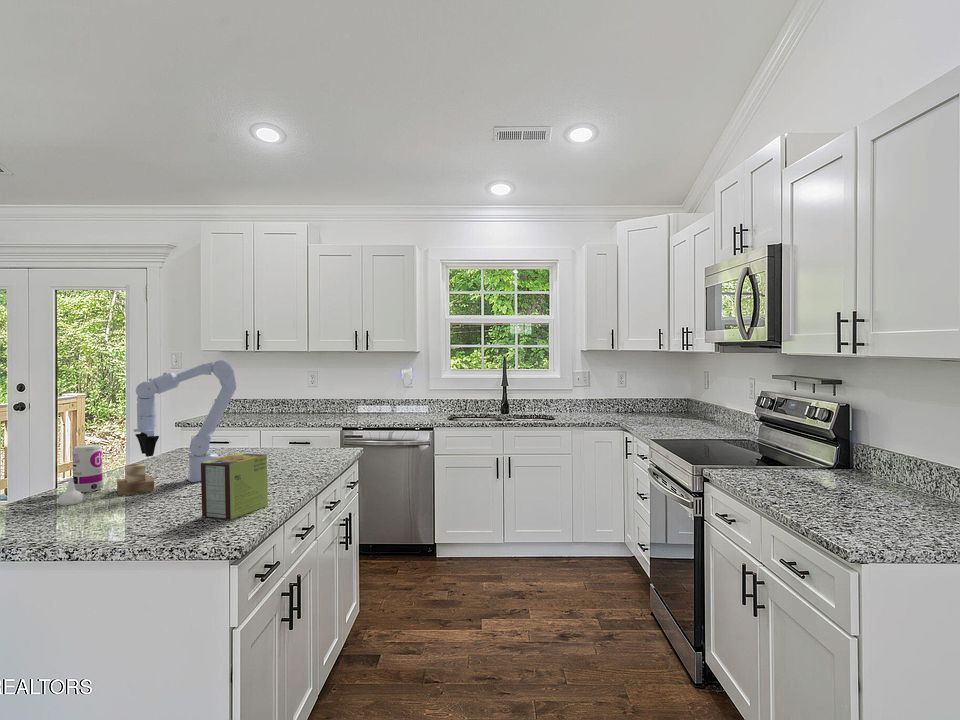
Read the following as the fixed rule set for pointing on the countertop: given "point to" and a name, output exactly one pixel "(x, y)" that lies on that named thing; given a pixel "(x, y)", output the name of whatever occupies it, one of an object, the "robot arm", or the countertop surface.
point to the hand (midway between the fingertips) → (147, 454)
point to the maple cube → (135, 473)
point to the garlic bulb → (70, 495)
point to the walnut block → (135, 486)
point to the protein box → (234, 485)
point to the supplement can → (87, 468)
